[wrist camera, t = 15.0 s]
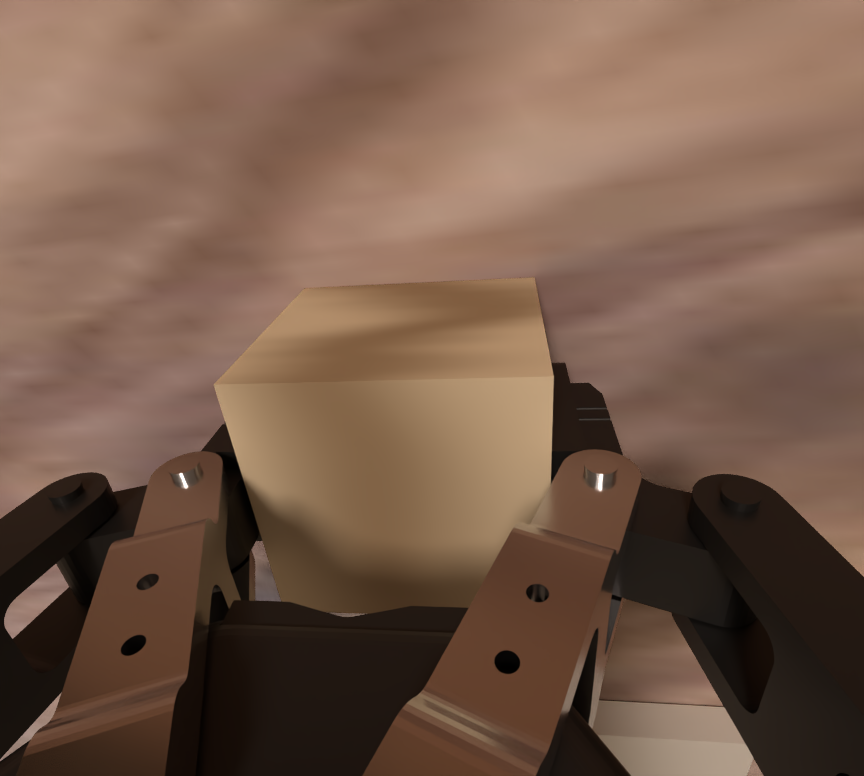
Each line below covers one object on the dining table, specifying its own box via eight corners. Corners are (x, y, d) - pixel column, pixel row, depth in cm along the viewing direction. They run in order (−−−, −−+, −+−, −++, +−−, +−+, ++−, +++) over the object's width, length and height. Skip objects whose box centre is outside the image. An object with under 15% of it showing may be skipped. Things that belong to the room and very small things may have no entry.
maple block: (534, 277, 12) (554, 376, 8) (532, 469, 15) (546, 619, 11) (304, 288, 13) (213, 384, 9) (341, 469, 16) (284, 610, 11)
